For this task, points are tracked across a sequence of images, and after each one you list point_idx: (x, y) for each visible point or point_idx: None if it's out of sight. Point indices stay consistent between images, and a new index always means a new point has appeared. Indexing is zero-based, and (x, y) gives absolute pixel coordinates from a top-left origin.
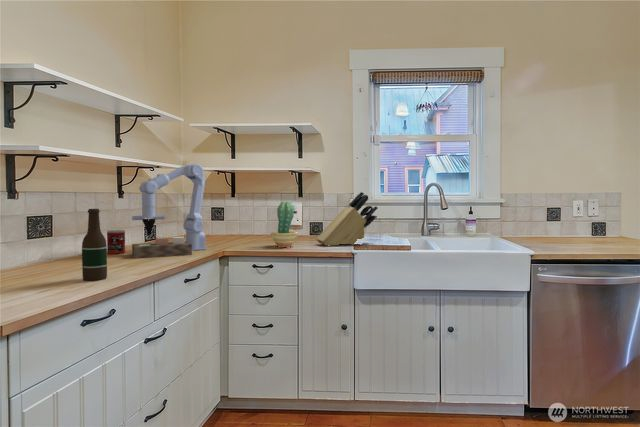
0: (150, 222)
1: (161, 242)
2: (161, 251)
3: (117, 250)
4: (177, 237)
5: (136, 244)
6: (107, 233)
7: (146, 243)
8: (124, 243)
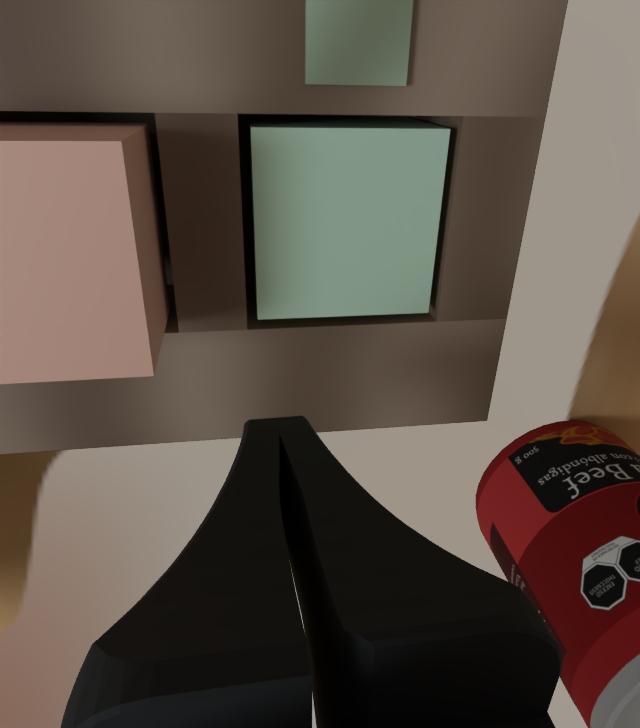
0: (281, 614)
1: (40, 132)
2: None
3: (578, 440)
4: None
5: (449, 352)
6: None
7: None
8: (529, 540)
